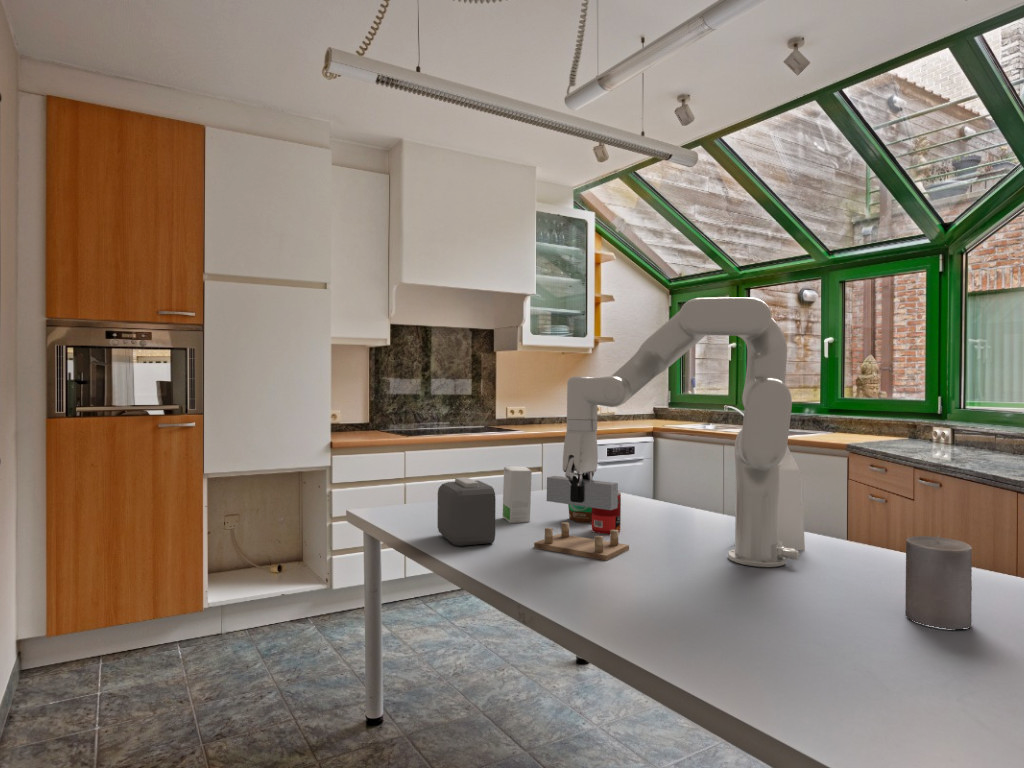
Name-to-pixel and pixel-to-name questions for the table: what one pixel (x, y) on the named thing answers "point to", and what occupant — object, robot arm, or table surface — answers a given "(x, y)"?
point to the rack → (582, 544)
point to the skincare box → (517, 494)
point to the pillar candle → (938, 582)
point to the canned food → (607, 519)
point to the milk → (790, 504)
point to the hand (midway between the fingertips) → (580, 500)
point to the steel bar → (584, 493)
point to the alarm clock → (466, 512)
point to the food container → (580, 514)
